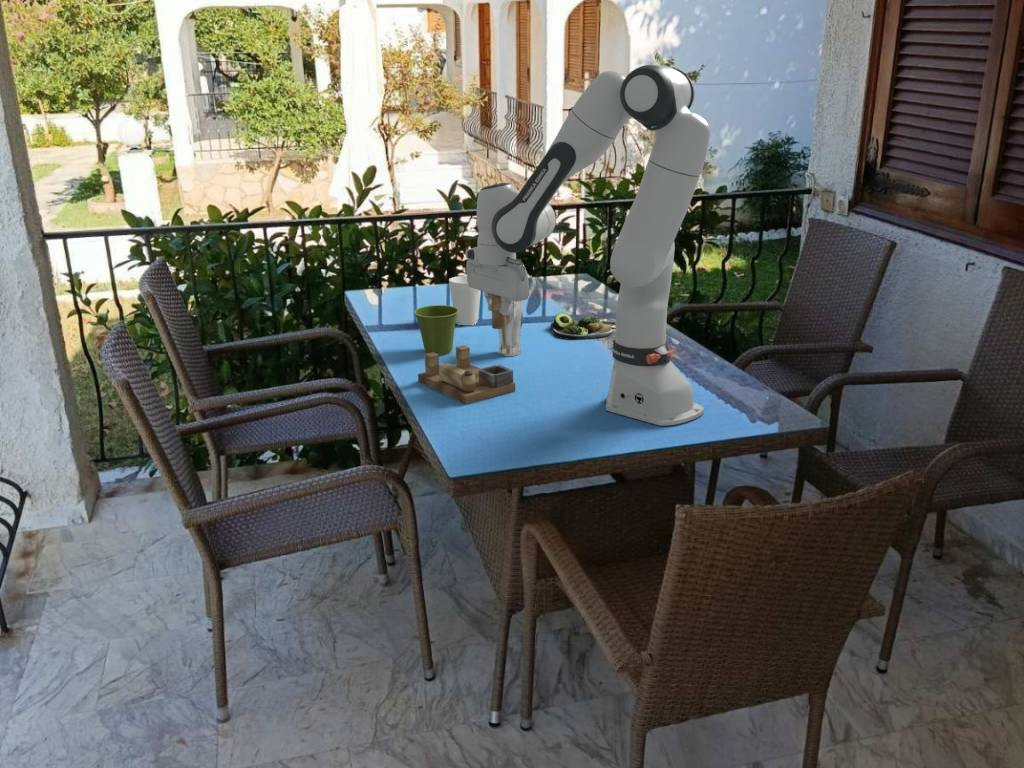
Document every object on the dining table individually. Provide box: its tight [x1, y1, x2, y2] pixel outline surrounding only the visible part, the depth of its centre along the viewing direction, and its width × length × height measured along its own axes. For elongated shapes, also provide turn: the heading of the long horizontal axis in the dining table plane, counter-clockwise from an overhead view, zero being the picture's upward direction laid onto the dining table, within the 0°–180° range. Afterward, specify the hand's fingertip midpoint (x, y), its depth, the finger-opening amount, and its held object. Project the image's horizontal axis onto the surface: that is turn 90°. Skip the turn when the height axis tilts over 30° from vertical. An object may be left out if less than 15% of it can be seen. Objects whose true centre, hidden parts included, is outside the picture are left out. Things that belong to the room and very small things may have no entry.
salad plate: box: [550, 312, 616, 340], centre depth 263 cm, size 19×18×5 cm
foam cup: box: [448, 275, 482, 326], centre depth 269 cm, size 10×9×13 cm
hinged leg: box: [439, 362, 475, 392], centre depth 213 cm, size 12×3×4 cm, turn 38°
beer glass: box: [497, 300, 524, 357], centre depth 241 cm, size 7×7×15 cm
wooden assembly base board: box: [417, 344, 516, 405], centre depth 218 cm, size 20×14×7 cm
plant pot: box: [413, 304, 459, 356], centre depth 243 cm, size 12×12×11 cm
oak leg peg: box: [491, 294, 505, 330], centre depth 218 cm, size 3×3×9 cm
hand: (498, 312), depth 219 cm, fingers closed on oak leg peg, 3 cm apart
